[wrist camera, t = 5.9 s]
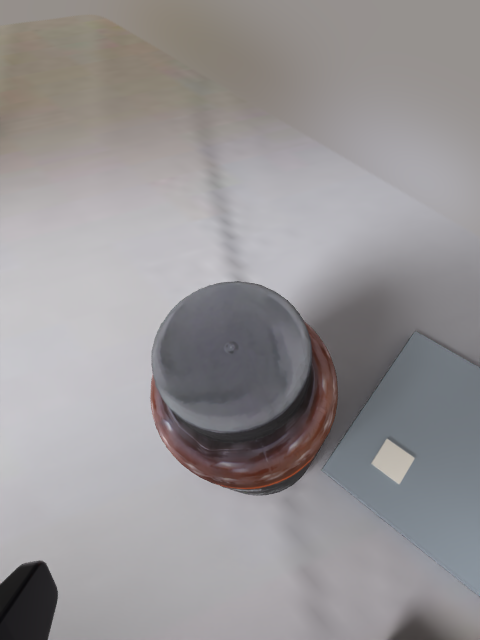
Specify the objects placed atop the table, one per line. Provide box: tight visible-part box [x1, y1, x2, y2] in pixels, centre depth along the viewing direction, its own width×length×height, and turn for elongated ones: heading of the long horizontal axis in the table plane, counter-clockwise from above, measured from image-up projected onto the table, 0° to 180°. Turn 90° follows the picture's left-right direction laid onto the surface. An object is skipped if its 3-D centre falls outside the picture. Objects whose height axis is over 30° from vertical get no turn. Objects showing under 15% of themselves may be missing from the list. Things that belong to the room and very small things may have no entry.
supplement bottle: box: [151, 281, 338, 495], centre depth 14 cm, size 6×6×11 cm
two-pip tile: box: [322, 331, 480, 597], centre depth 17 cm, size 9×9×1 cm
